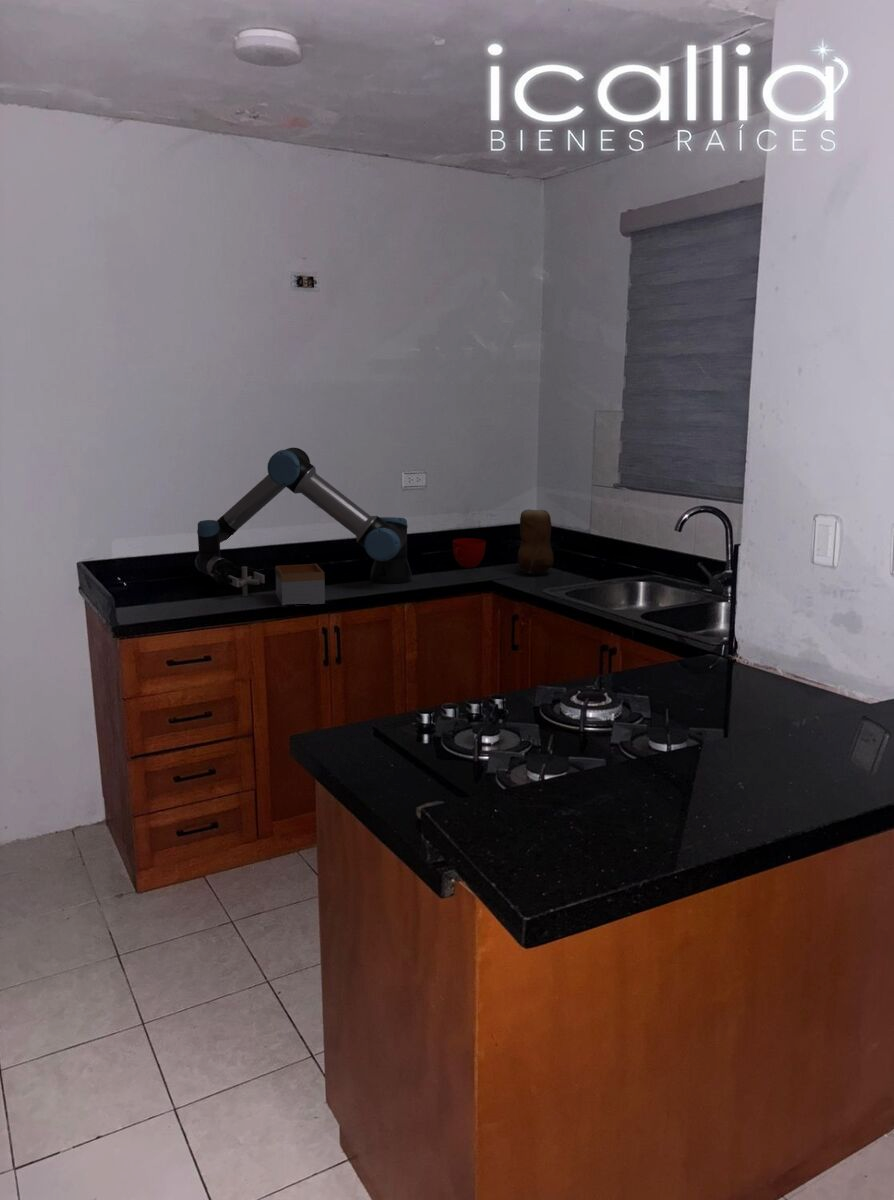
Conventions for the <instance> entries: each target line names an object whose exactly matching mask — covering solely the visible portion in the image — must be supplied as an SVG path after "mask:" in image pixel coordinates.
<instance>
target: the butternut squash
mask: <svg viewBox="0 0 894 1200" xmlns="http://www.w3.org/2000/svg"><path fill="white" fill-rule="evenodd" d="M519 536H520V545H519V548H518V552H517V562H518V563H517V564H518V567H519V569H521V570H522V571H524V572H525V573H526V574H529V575H532V576H542V575H544V574H545V573H546V572H548V570H550V569H551V567H552V566H553V564H554V560H555V559H554V552H553V549H552V546H551V537H552V519H551V515H550V513H549V512H548V511H547V510H546V509H531V508H530V509H525V510H522V512H521V513H520V517H519Z"/></svg>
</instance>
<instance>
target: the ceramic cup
mask: <svg viewBox="0 0 894 1200" xmlns="http://www.w3.org/2000/svg"><path fill="white" fill-rule="evenodd" d="M486 543H487V542H486V540H485V539H480V538H474V537H473V538H472V537H471V538H470V537H464V538H456V539H453V540H452V551H453V557H454V559H455V561H456V563H458V565H459V566H460V567H461V568H465V569H466V568H467V569H468V568H469V569H473V568H477V567H478V566H479V565H480V563H481V562H482V561H483V559H484V556H485V551H486V545H487V544H486Z"/></svg>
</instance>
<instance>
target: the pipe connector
mask: <svg viewBox="0 0 894 1200" xmlns="http://www.w3.org/2000/svg"><path fill="white" fill-rule="evenodd" d="M247 567H248V566H241V568H242V578H238V579H239V587H238V588H241V589H242V591H241V593H242V597H244V596H246V597H248V596H249V586H248V585H254V586H255V585H257V586H258V585H260V583H261V582H260V580H257V579H253V577H252V576H249V577H247Z"/></svg>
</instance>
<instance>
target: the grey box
mask: <svg viewBox="0 0 894 1200" xmlns="http://www.w3.org/2000/svg"><path fill="white" fill-rule="evenodd" d="M325 575H326V574H325V571H324V570H323V569H322V568H321V567H320V566H319V565H318V564H317V563H308V564H307V563H305V564H287V565H284V564H283V565H275V592H276V596H277V597H276V599H277V600H278V599H279V600H278V601H280V602H281V603H280V602H279V603H280V605H281V604H282V605H286V604H310V605H324V604H326V595H325V594H326V589H325V588H326V587H325V586H326V585H325V584H326V582H325V581H326V580H325V579H326V578H325ZM282 605H281V606H282Z"/></svg>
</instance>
